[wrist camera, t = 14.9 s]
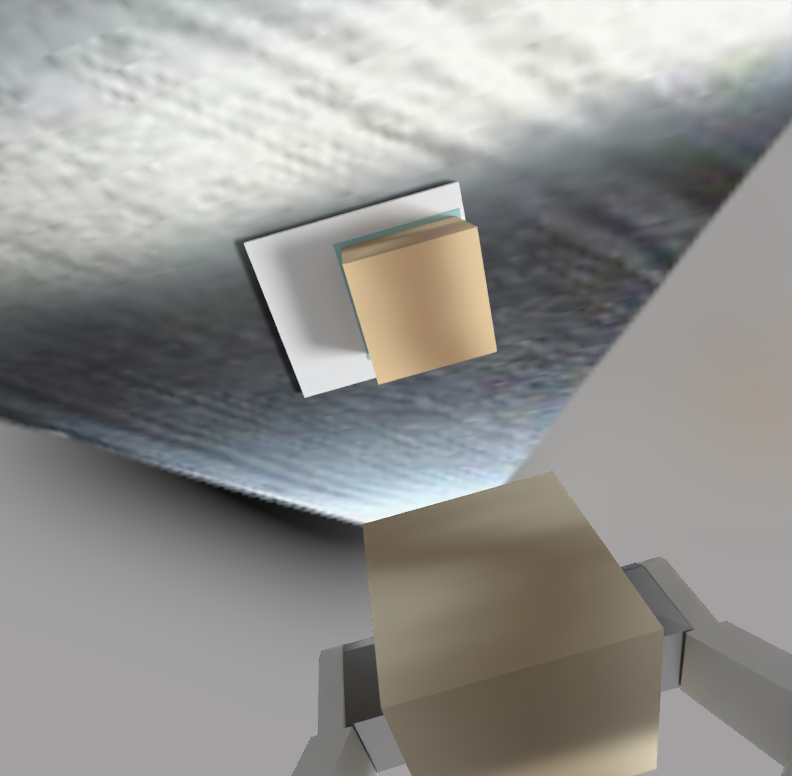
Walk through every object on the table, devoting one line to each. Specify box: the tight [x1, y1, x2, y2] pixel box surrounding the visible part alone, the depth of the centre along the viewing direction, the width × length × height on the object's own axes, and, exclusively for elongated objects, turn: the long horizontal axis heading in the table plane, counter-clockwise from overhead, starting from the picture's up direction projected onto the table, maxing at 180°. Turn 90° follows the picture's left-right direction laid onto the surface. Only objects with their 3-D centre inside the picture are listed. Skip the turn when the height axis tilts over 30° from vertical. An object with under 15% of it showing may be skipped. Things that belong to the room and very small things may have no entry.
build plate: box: [244, 181, 465, 397], centre depth 25 cm, size 11×9×1 cm
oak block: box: [341, 216, 497, 384], centre depth 23 cm, size 6×6×4 cm
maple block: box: [363, 472, 664, 776], centre depth 10 cm, size 4×4×4 cm
